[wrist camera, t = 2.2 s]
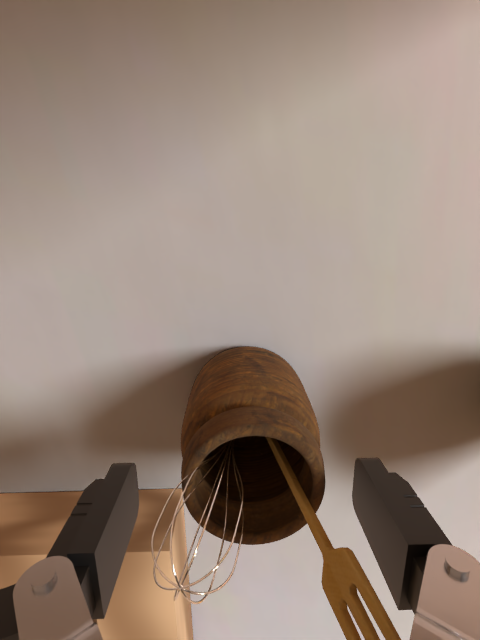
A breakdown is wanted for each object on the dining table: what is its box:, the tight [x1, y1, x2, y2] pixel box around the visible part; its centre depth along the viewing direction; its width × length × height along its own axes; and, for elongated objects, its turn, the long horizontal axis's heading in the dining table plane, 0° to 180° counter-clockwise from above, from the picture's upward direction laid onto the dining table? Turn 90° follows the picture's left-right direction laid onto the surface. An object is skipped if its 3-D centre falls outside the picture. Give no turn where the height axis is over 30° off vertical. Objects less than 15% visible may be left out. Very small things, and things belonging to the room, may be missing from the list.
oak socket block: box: [0, 489, 193, 640], centre depth 20 cm, size 16×16×4 cm
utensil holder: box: [151, 346, 401, 640], centre depth 13 cm, size 6×6×12 cm
